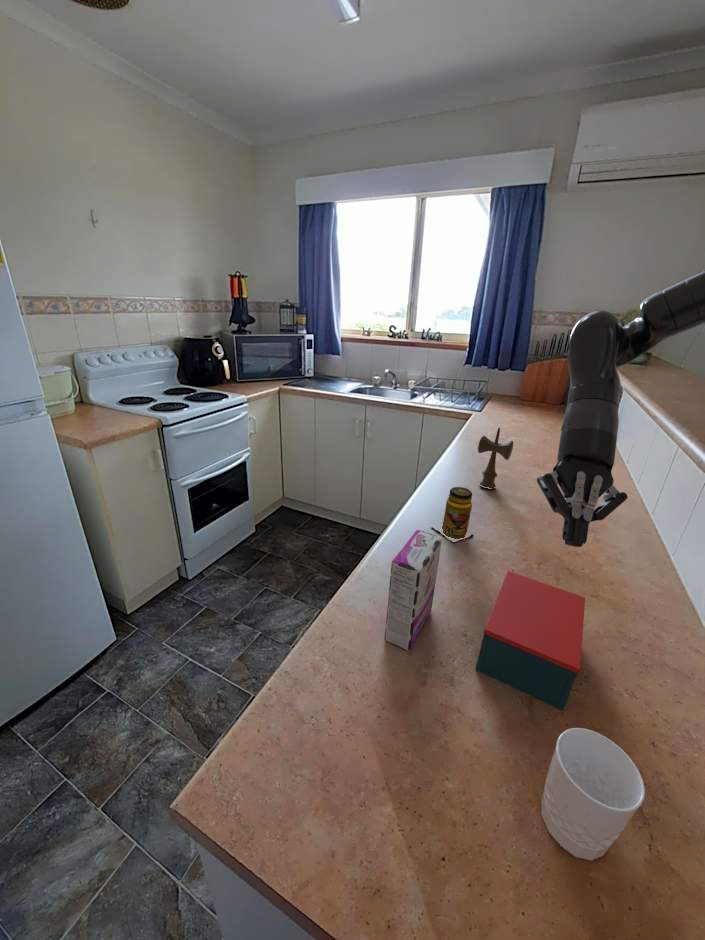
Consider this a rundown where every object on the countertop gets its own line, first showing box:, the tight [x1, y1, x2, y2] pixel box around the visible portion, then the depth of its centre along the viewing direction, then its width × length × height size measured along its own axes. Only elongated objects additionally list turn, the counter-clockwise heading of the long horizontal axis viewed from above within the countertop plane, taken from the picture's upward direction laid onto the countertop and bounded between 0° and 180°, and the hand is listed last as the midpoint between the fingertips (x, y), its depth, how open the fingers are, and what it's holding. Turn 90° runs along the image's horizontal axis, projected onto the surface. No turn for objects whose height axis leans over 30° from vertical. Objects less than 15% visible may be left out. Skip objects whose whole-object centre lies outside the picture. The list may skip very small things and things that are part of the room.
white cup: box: [540, 727, 646, 862], centre depth 42 cm, size 8×8×10 cm
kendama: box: [477, 427, 514, 488], centre depth 123 cm, size 6×10×20 cm, turn 58°
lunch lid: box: [483, 570, 586, 675], centre depth 63 cm, size 17×13×1 cm
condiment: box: [442, 486, 473, 539], centre depth 98 cm, size 7×8×12 cm
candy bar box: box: [384, 529, 443, 652], centre depth 67 cm, size 11×5×16 cm, turn 151°
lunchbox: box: [475, 633, 578, 711], centre depth 65 cm, size 17×13×8 cm
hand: (573, 545), depth 58 cm, fingers closed
